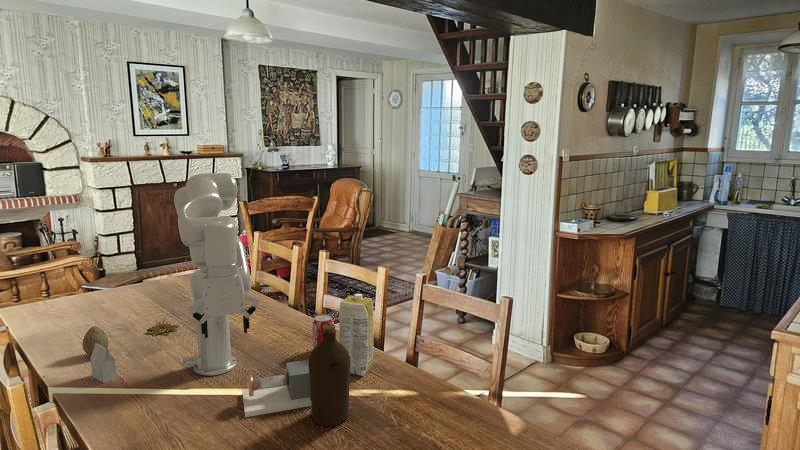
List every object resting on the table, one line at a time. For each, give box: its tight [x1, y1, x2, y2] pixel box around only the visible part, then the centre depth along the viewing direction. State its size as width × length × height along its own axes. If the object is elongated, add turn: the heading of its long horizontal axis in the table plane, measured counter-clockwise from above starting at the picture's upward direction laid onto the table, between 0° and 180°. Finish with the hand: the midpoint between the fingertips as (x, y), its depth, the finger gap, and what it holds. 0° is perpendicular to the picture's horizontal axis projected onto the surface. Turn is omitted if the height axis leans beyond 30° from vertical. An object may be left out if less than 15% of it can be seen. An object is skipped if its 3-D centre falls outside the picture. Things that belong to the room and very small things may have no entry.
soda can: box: [312, 313, 335, 350], centre depth 171 cm, size 7×7×12 cm
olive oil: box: [308, 324, 351, 427], centre depth 132 cm, size 11×11×25 cm
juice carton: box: [338, 293, 374, 377], centre depth 158 cm, size 9×8×24 cm
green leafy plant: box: [144, 317, 179, 337], centre depth 188 cm, size 12×12×5 cm
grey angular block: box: [90, 343, 118, 384], centre depth 153 cm, size 4×7×10 cm, turn 55°
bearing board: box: [242, 359, 312, 418], centre depth 143 cm, size 27×12×9 cm, turn 110°
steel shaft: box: [247, 374, 289, 397], centre depth 141 cm, size 14×6×6 cm, turn 110°
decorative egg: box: [82, 326, 109, 357], centre depth 167 cm, size 7×7×10 cm
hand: (226, 333), depth 134 cm, fingers open, 9 cm apart
